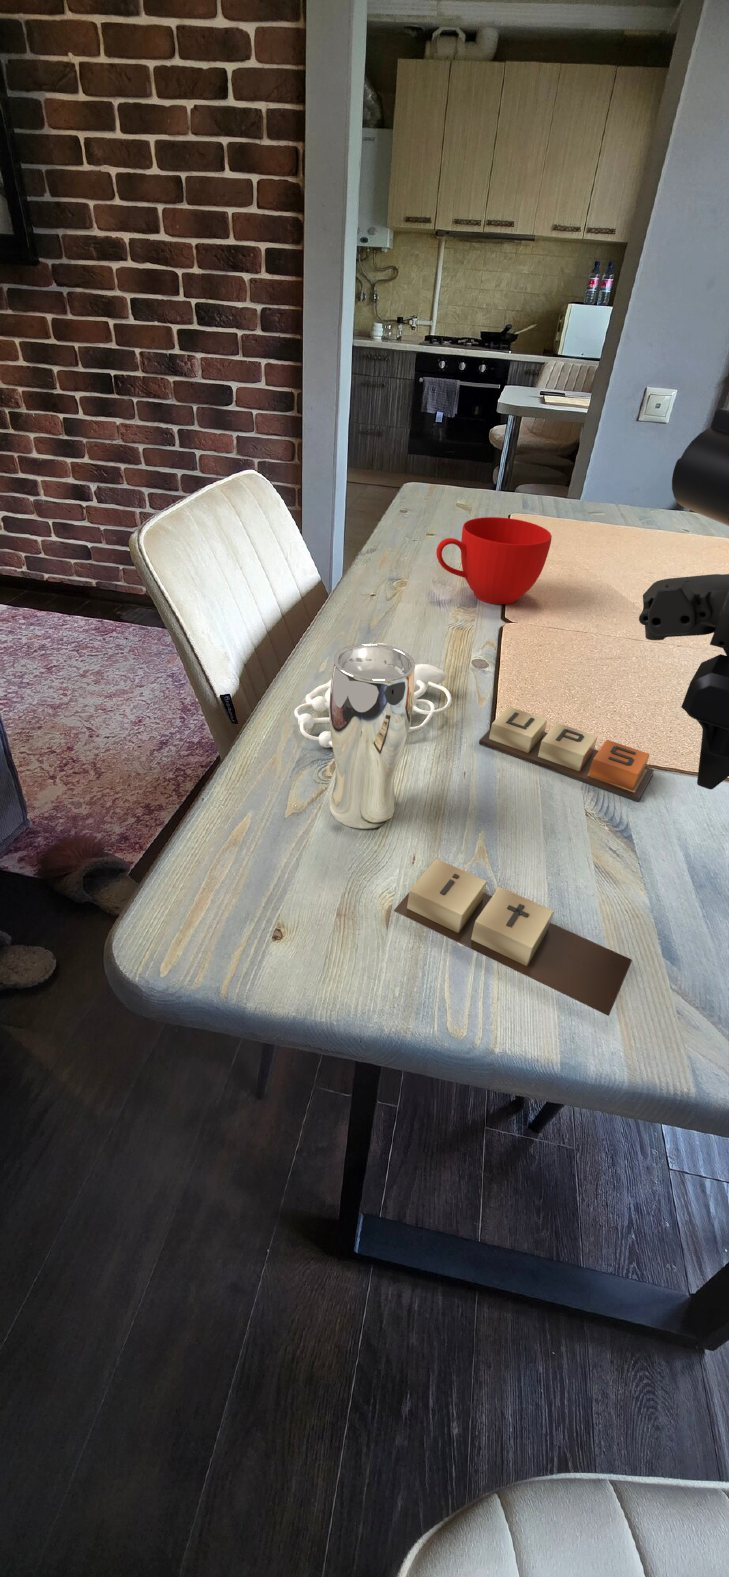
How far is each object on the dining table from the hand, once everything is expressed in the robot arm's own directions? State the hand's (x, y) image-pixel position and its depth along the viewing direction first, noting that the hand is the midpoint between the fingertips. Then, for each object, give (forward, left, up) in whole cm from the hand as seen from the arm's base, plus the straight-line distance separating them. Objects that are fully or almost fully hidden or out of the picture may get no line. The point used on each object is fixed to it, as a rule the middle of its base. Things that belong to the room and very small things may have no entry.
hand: (716, 758), depth 56 cm
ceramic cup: (+39, -48, -12) cm, 63 cm away
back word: (+13, -12, -12) cm, 22 cm away
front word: (+8, +15, -12) cm, 21 cm away
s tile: (+8, -12, -11) cm, 18 cm away
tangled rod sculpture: (+34, -8, -12) cm, 37 cm away
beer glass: (+26, +8, -12) cm, 30 cm away
